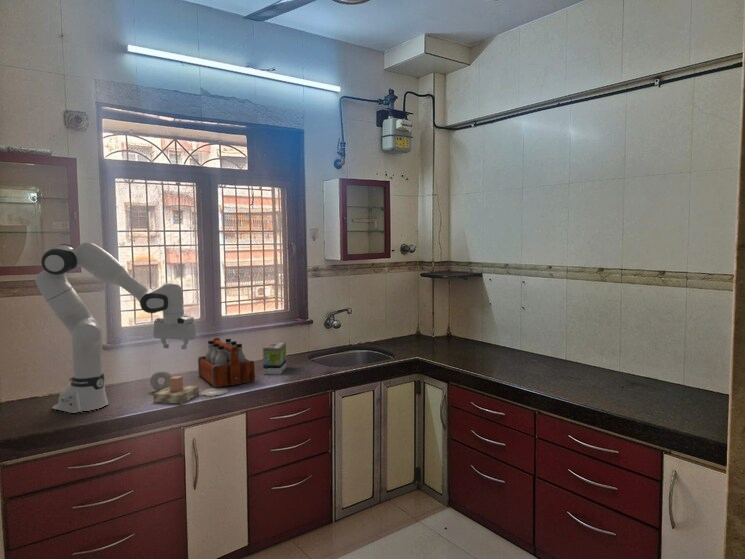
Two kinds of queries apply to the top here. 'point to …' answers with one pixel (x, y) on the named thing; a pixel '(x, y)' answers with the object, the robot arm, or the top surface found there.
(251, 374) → the milk bottle holder
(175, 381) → the peg
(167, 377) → the donut
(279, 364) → the tea box
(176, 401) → the holder
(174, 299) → the robot arm
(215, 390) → the coaster
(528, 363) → the top surface
